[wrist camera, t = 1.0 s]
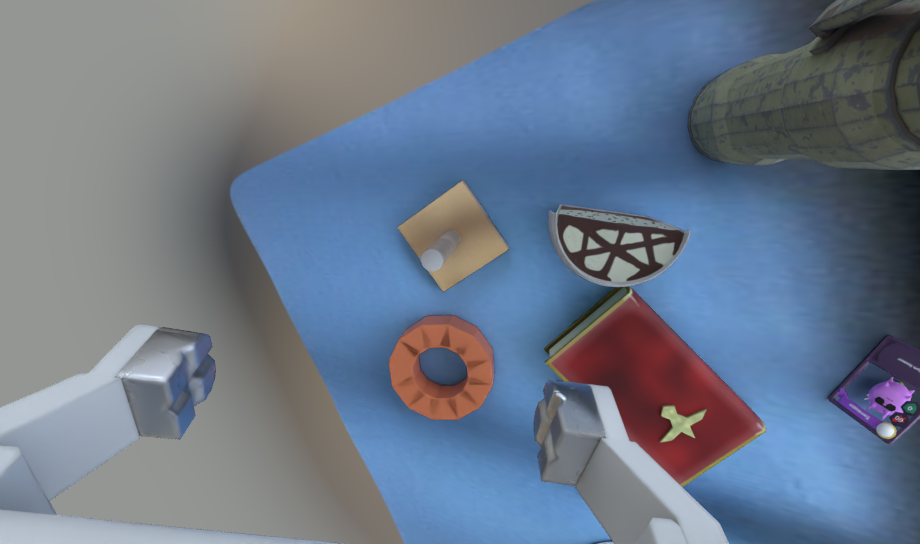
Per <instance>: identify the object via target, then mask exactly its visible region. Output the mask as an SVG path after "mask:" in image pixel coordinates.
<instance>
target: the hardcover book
mask: <svg viewBox="0 0 920 544" xmlns="http://www.w3.org/2000/svg"><path fill="white" fill-rule="evenodd" d="M544 350H545V351H546V352H547V353H548V354H549V355H550V358H549V359H548V360H546V361H545V363H546V364H547V365H548V366H549V367H550V368H551V369H552V370H553V371H554V372H555V373H556V374H557V375H558V376H559V377H560V378H561V379H562V380H563V381H566V382H574V383H582V384H587V385H588V384H591V385H599V386H607V387H609V388H610V389H611V391H612V394H613V397H614V400H615V402H616V405H617V408H618V411H619V413H620V416H621V419H622V422H623V424H624V427H625V430H626V433H627V435H628V438H629V441H631V442H636V443H637V444H638V445H639V446H640V447H641V448H642V449H643V450H644V451H645V452H646V453H647V454H648V455H649V456H650V457H651V458H652V459H653V460H654V461H656V462H657V463H658V464H659V465H660V466H661V467H662V468H663V469H664V470H665V471H666V472H667V473H668V474H669V475H670V476H671V477H672V478H673V479H674V480H675V481H676V482H677V483H678V484H679V485H680V486H681V487H683V486H684V485H686V484H687V483H689V482H691V481H692V480H694V479H695V478H697V477H698V476H700V475H701V474H703V473H704V472H706V471H707V470H709V469H710V468H712V467H713V466H715V465H716V464H718V463H719V462H721V461H722V460H724V459H725V458H727V457H728V456H730V455H731V454H733V453H734V452H736V451H737V450H739V449H740V448H742V447H744V446H745V445H747V444H748V443H750V442H751V441H753V440H754V439H756V438H757V437H759V436H760V435H762V434H763V433H765V432H766V427H765V425H764V423H763V421H762V420H761V419H760V418H759V417H758V416H757V415H756V414H755V413H754V412H753V411H752V410H751V409H750V408H749V407H748V406H747V405H746V404H745V402H744V401H743V400H742V399H741V398H740V397H739V396H738V395H737V394H736V393H735V392H734V391H733V390H732V389H731V388H730V387H729V386H728V385H727V384H726V383H725V382H724V381H723V380H722V379H721V378H720V377H719V376H718V375H717V374H716V373H715V372H714V371H713V370H712V369H711V368H710V367H709V366H708V365H707V364H706V363H705V362H704V361H703V360H702V359H701V358H700V357H699V356H698V355H697V354H696V353H695V352H694V351H693V350H692V349H691V348H690V347H689V346H688V345H687V344H686V343H685V342H684V341H683V340H682V339H681V338H680V337H679V336H678V335H677V334H676V333H675V332H674V331H673V330H672V329H671V328H670V327H669V326H668V325H667V324H666V323H665V322H664V321H663V320H662V319H661V318H660V317H659V315H658V314H657V313H656V312H655V311H654V310H653V309H652V308H651V307H650V306H649V305H648V304H647V303H646V302H645V301H644V300H643V299H642V298H641V297H640V296H639V295H638V294H637V293H636V292H635V291H634V290H633V289H632V288H631V287H630V286H628V287H616V288H615V289H613V290H612V291H611V292H610V293H609V294H608V295H606V296H605V297H604V298H603V299H602V300H601V301H599V302H598V303H597V304H596V305H595V306H593V307H592V308H591V309H590V310H589V311H588V312H586V313H585V314H584V315H583V316H582V317H581V318H579V319H578V320H577V321H576V322H575V323H573V324H572V325H571V326H570V327H569V328H568V329H566V330H565V331H564V332H563V333H562V334H561V335H559V336H558V337H557V338H556V339H555V340H554V341H552V342H551V343H550V344H549V345H548V346H546V347H545V348H544Z"/></svg>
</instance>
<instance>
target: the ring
mask: <svg viewBox="0 0 920 544" xmlns="http://www.w3.org/2000/svg"><path fill="white" fill-rule="evenodd" d="M442 347H445V348H447V349H449V350H451V351H453V352H455V353H457V354H459V356H460V357H461V359H462V360H463V361H464V363H465V364H466V366H467V374H468V375H467V377H466V379H464V380H463V381H461V382H459V383H458V384H456V385H444V386H441V385H439V384H437V383H435V382H433V381H431V380H429V379H428V378H427V377H426V376H425V374H424V373H423V372H422V370H421V369H420V362H419V354H421V353H422V352H424V351H425V350H427V349H429V348H442ZM389 367H390V374H391V382H392V386H393V388H394V390H395V391H396V392H397V394H398V395H399V396H400V397H401V399H402V400H403V401H404V403H405V404H406V405H407V407H408V408H410V409H412V410H414V411H416V412H418V413H420V414H422V415H424V416H426V417H428V418H430V419H433V420H458V419H460V418H462V417H464V416H466V415H467V414H469V413H471V412H473V411H475V410H477V409H478V408H480V407H481V406H482V404H483V402H484V400H485V398H486V397H487V395H488V393H489V391H490V389H491V387H492V385H493V380H494V373H495V370H494V358H493V348H492V347H491V345H490V344H489V342H488V341H487V340H486V338H485V337H484V335H483V334H482V333H481V331H480V330H479V328H478V327H477V326H475V325H473V324H471V323H469V322H467V321H464V320H462V319H460V318H458V317H456V316H454V315H436V316H426V317H424V318H423V319H421V320H420V321H418V322H417V323H415V324H413V325H412V326H410V327H409V328H407V329H406V330H405V331H404V333H403V334H402V336H401V337H400V338H399V340H398V342H397V344H396V347H395V349H394V351H393V353H392V355H391V358H390V360H389Z"/></svg>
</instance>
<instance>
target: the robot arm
mask: <svg viewBox="0 0 920 544" xmlns="http://www.w3.org/2000/svg"><path fill="white" fill-rule="evenodd" d="M211 348H212V342H211V338H210V336H209V335H207V334H203V333H197V332H191V331H184V330H178V329H172V328H165V327H155V326H150V325H144V324H140V325H137V326H135V327H133V328H132V329H131V330H130V331H129V332H128V333H127V334H126V335H125V336H124V337H123V338H122V339H121V340H120V341H119V342H118V343H117V344H116V345H115V346H114V347H113V348H112V349H111V350H110V351H109V352H108V353H107V354H106V355H105V356H104V357H103V358H102V359H101V360H100V361H99V362H98V363H97V364H96V365H95V366H94V367H93V368H92V370H91V371H90V372H89V373H88V374H82V373H79V374H77V375H75V376H72V377H70V378H68V379H66V380H63V381H61V382H58V383H56V384H54V385H52V386H49V387H47V388H45V389H42V390H40V391H38V392H36V393H33V394H31V395H29V396H26V397H24V398H22V399H19V400H17V401H15V402H12V403H10V404H8V405H5V406H3V407H1V408H0V544H341V543H331V542H321V541H311V540H300V539H290V538H281V537H271V536H261V535H251V534H241V533H232V532H222V531H212V530H201V529H192V528H182V527H171V526H162V525H152V524H142V523H132V522H122V521H112V520H101V519H92V518H82V517H72V516H62V515H57V514H56V512H55V510H54V509H53V507H52V505H51V503H50V500H52V499H53V498H55V497H56V496H58V495H59V494H60V493H62V492H63V491H65V490H66V489H68V488H69V487H70V486H72V485H73V484H75V483H76V482H77V481H79V480H80V479H82V478H83V477H85V476H86V475H88V474H89V473H91V472H92V471H94V470H95V469H96V468H98V467H99V466H101V465H102V464H103V463H105V462H106V461H108V460H109V459H111V458H112V457H114V456H115V455H116V454H118V453H119V452H121V451H122V450H124V449H125V448H127V447H128V446H129V445H131V444H132V443H134V442H135V441H137V440H138V439H139V438H140V436H145V437H156V438H168V439H179V440H180V439H181V438H182V436H183V434H184V433H185V431H186V429H187V428H188V426H189V425H190V423H191V422H192V420H193V419H194V417H195V411H194V406H196V405H197V404H199V403H201V402H203V401H204V400H205V399H206V398H207V396H208V394H209V393H210V391H211V389H212V386H213V383H214V380H215V373H216V366H215V360H214V359H213V358H211V356H210V355H208V352H209V351H210V350H211ZM543 392H544V399H543V400H541V401H540V402H538V405H537V408H536V411H535V417H534V436H535V441H536V442H537V443H538V444H539V446H540V447H541V449H540V451H539V454H538V456H537V457H538V463H539V469H540V476H541V481H544V482H551V483H558V484H565V485H572V486H576V487H575V488H576V490H577V491H578V492H579V494H580V495H581V497H582V498H583V500H584V501H585V502H586V504H587V505H588V507H589V508H590V510H591V511H592V512H593V514H594V515H595V517H596V518H597V520H598V521H599V523H600V524H601V525H602V527H603V528H604V530H605V531H606V533H607V534H608V535H609V537H610V538H611V540H612V541H613V542H603V543H598V544H729V543H728V541H727V538H726V536H725V534H724V532H723V530H722V528H721V526H720V523H719V522H718V521H717V520H715V519H714V518H713V517H712V516H711V515H710V514H709V513H708V512H707V511H706V510H705V509H704V508H703V507H702V506H701V505H700V504H699V503H698V502H697V501H696V500H695V499H694V498H693V497H692V496H691V495H690V494H689V493H688V492H687V491H686V490H684V489H683V488H682V487H681V486H680V485H679V484H678V483H677V482H676V481H675V480H674V479H673V478H672V477H671V476H670V475H669V474H668V473H667V472H666V471H665V470H664V469H663V468H662V467H661V466H660V465H659V464H658V463H657V462H656V461H654V460H653V459H652V458H651V457H650V456H649V455H648V454H647V453H646V452H645V451H644V450H643V449H642V448H641V447H640V446H639V445H638V444H637V443H636V442H631V441H629V438H628V435H627V433H626V430H625V427H624V424H623V422H622V419H621V416H620V413H619V411H618V408H617V405H616V402H615V400H614V397H613V394H612V391H611V389H610V388H609V387H607V386H599V385H591V384H588V385H587V384H582V383H574V382H566V381H558V380H550V379H549V380H548V381H547V382H546V384H545V387H544V389H543Z"/></svg>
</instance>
